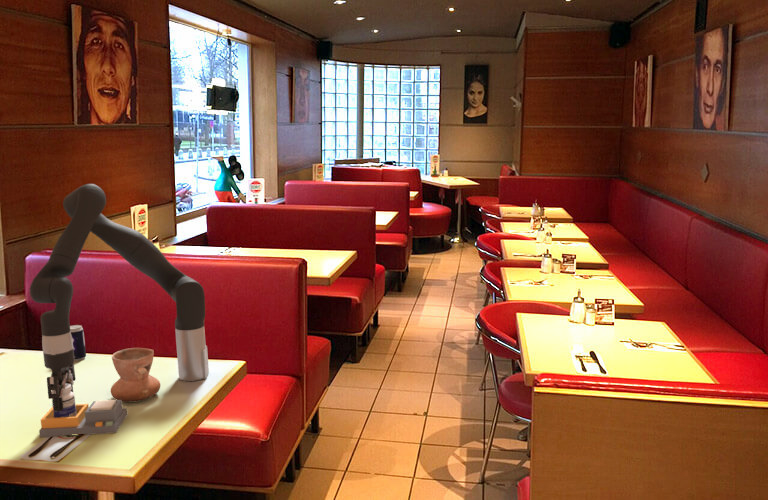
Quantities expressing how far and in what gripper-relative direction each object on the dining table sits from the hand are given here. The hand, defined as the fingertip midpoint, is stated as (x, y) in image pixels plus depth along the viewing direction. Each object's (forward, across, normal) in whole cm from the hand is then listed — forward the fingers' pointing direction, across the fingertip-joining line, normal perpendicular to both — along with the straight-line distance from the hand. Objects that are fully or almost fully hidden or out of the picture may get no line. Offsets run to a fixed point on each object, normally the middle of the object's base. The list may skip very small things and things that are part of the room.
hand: (64, 404), depth 196 cm
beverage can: (+7, -60, -16) cm, 62 cm away
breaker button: (+5, 0, +11) cm, 11 cm away
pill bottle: (+5, 0, 0) cm, 5 cm away
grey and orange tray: (+7, 0, +5) cm, 8 cm away
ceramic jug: (+7, -20, +14) cm, 25 cm away
